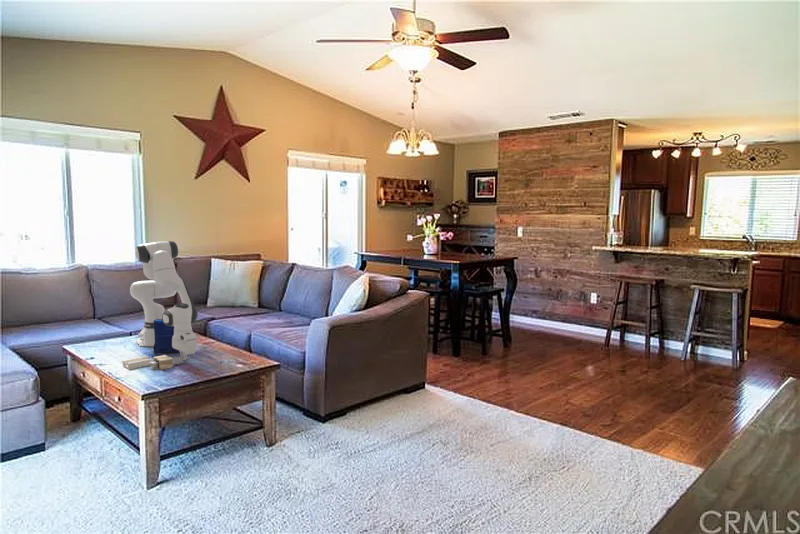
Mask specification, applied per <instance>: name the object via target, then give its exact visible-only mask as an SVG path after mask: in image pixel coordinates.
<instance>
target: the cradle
mask: <svg viewBox="0 0 800 534" xmlns="http://www.w3.org/2000/svg"><path fill="white" fill-rule="evenodd" d="M153 361H154V360H153V358H148V356H147V355H143V356H139V357H134V358H133V357H132V358H128V359H123V360H122V366H123V368H126V369H127V368H128V370H132V368H133V369H138V368H142V366H143V367H147V366H150V362H153ZM137 367H138V368H137Z"/></svg>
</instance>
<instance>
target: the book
mask: <svg viewBox="0 0 800 534" xmlns="http://www.w3.org/2000/svg"><path fill="white" fill-rule="evenodd" d="M154 333H155V343H154V346H153V354H155V355H157V354H160V355H161V354H162V355H166V354H176V353H180V351H179V350H176V349H174V348H173V347H172V337H173V335H174V326H167V325H165V324H164V323H163V320H162V319H155V320H154Z"/></svg>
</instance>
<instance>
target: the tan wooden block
mask: <svg viewBox="0 0 800 534" xmlns="http://www.w3.org/2000/svg"><path fill="white" fill-rule="evenodd" d="M152 359H153V361H159V370H161V371H163V370H165V369H166V370H167V369H171V367H172V368H173V366H174V365H172V357H171V356H169V355H166V354H162V355H158V356H153V358H152Z"/></svg>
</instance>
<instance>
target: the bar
mask: <svg viewBox="0 0 800 534" xmlns="http://www.w3.org/2000/svg"><path fill="white" fill-rule="evenodd" d="M171 358H172V365H173V366H176V365H175V364H177V365H181V364H180V363H182V364H184V360H183V357H182V356H181V355H178V356H173V357H171ZM158 368H159V361H154V360H153V362H150V365H149V369H151V370H153V371H154V370H158Z"/></svg>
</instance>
